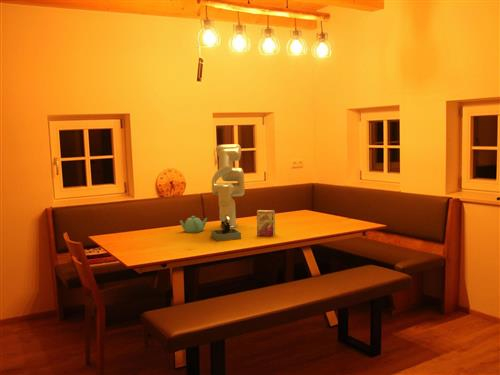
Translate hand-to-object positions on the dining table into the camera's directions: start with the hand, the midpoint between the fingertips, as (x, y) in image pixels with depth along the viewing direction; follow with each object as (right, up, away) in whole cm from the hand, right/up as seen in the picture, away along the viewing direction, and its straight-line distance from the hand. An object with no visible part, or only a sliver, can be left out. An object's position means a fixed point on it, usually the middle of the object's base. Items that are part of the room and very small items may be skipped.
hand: (225, 229), depth 335 cm
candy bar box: (+27, -4, +3) cm, 27 cm away
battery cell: (0, -4, 0) cm, 4 cm away
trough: (0, -5, +1) cm, 5 cm away
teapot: (-23, -3, +27) cm, 36 cm away
